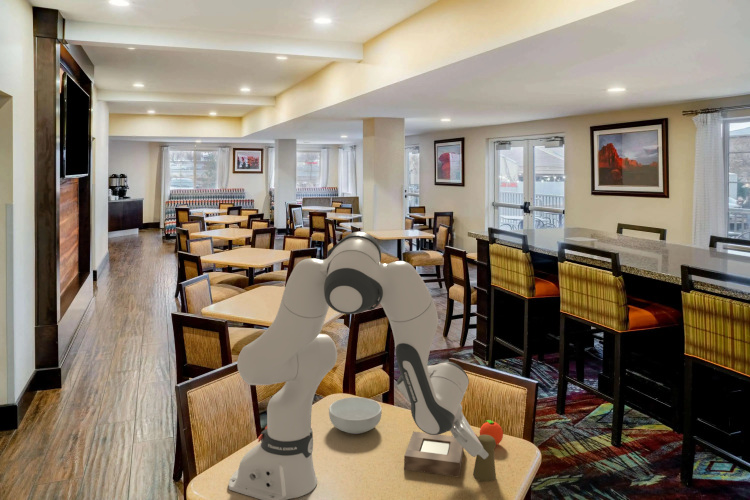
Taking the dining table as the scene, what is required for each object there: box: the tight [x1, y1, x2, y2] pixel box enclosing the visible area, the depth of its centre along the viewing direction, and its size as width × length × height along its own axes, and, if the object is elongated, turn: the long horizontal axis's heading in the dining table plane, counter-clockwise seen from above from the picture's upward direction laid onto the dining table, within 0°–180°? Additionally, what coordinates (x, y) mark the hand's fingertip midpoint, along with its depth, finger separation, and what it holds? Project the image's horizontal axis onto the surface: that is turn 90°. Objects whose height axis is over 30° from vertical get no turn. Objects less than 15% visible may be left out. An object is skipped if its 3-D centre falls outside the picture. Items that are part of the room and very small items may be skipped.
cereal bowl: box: [328, 396, 383, 435], centre depth 172 cm, size 17×17×7 cm
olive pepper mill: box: [472, 434, 497, 483], centre depth 145 cm, size 6×6×11 cm
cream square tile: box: [421, 440, 450, 455], centre depth 153 cm, size 7×7×1 cm
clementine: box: [479, 419, 504, 446], centre depth 164 cm, size 8×7×7 cm
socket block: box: [403, 431, 464, 478], centre depth 154 cm, size 15×15×4 cm
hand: (480, 447), depth 144 cm, fingers open, 8 cm apart
